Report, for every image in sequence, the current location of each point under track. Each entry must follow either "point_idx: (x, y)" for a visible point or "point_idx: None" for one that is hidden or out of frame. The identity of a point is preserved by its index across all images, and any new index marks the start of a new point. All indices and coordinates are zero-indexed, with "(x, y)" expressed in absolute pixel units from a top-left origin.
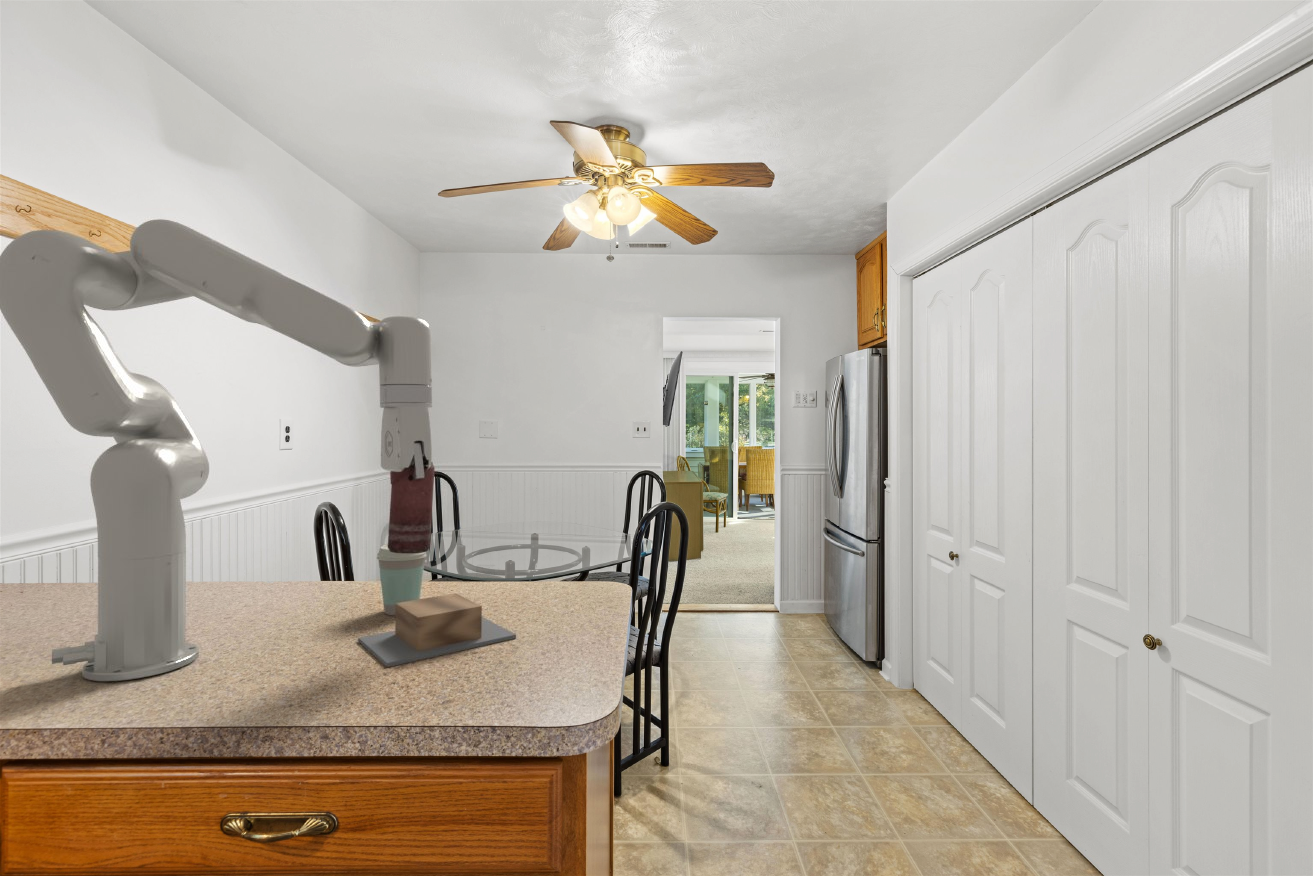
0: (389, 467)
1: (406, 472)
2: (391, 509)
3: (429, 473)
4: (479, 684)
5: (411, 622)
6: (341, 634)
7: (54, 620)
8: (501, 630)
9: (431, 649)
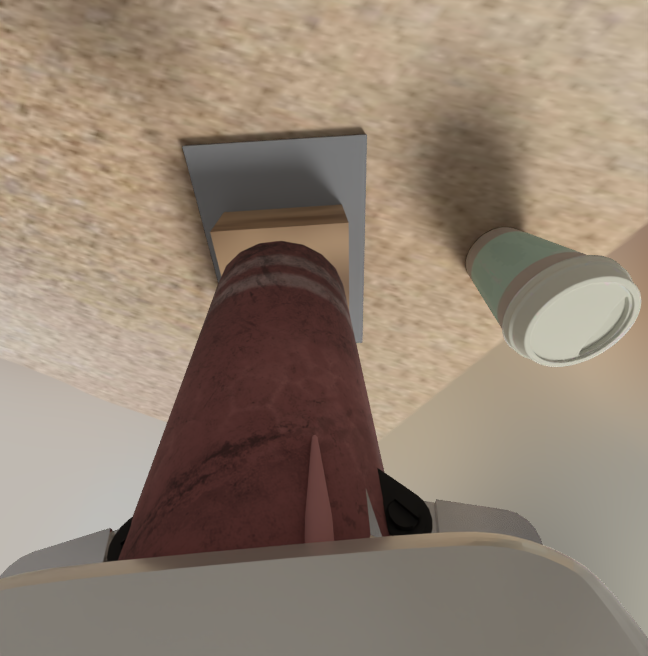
0: (233, 587)
1: None
2: (260, 324)
3: None
4: (56, 249)
5: (250, 223)
6: (437, 113)
7: None
8: None
9: None
